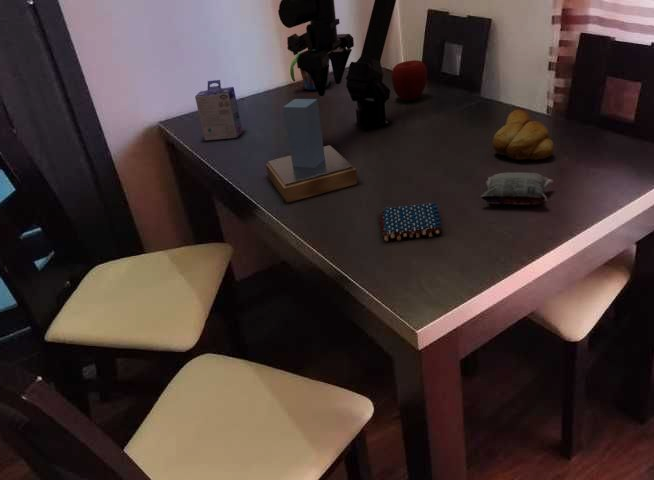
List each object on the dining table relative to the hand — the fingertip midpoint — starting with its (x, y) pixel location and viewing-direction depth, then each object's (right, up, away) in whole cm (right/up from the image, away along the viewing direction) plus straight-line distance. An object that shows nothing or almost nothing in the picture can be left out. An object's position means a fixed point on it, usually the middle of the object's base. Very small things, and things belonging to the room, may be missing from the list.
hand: (330, 89), depth 148 cm
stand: (-5, -24, -8) cm, 26 cm away
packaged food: (+33, -33, -30) cm, 56 cm away
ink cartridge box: (-28, -3, +26) cm, 38 cm away
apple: (+24, +8, +26) cm, 36 cm away
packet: (-5, -20, -10) cm, 24 cm away
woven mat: (+13, -38, -32) cm, 52 cm away
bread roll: (+40, -20, -15) cm, 47 cm away
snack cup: (-1, +20, +49) cm, 53 cm away
